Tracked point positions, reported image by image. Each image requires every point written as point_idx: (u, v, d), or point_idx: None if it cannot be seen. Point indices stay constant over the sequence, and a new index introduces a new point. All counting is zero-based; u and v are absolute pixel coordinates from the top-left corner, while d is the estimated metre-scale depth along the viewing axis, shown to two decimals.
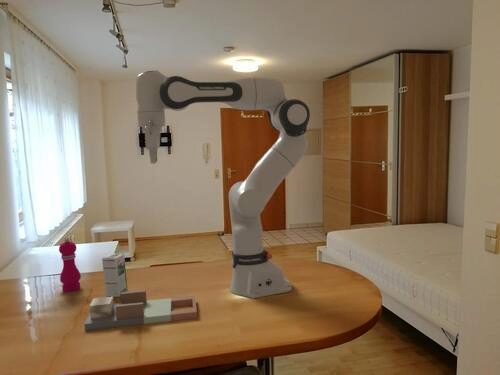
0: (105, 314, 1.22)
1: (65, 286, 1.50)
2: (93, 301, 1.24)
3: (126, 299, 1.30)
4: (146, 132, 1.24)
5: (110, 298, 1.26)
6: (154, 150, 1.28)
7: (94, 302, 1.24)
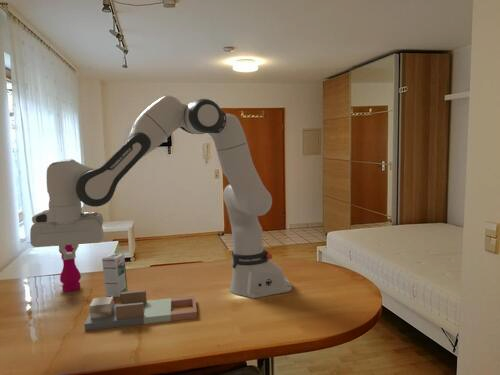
0: (105, 314, 1.22)
1: (65, 286, 1.50)
2: (93, 301, 1.24)
3: (126, 299, 1.30)
4: (99, 224, 1.21)
5: (110, 298, 1.26)
6: (78, 243, 1.22)
7: (94, 302, 1.24)
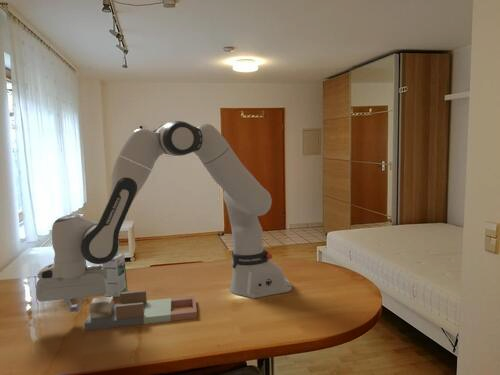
0: (105, 314, 1.22)
1: None
2: (93, 301, 1.24)
3: (126, 299, 1.30)
4: (103, 278, 1.23)
5: (110, 298, 1.26)
6: None
7: (94, 302, 1.24)
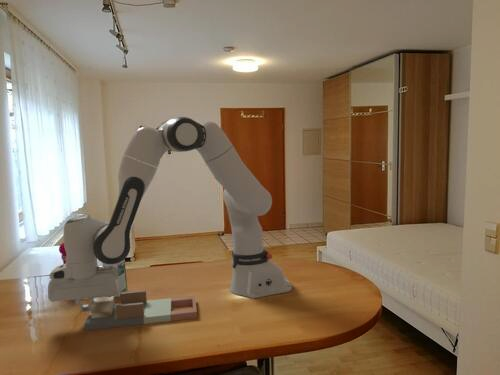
0: (106, 314, 1.22)
1: None
2: (94, 301, 1.24)
3: (126, 299, 1.30)
4: (115, 278, 1.23)
5: (111, 298, 1.26)
6: None
7: (95, 302, 1.24)
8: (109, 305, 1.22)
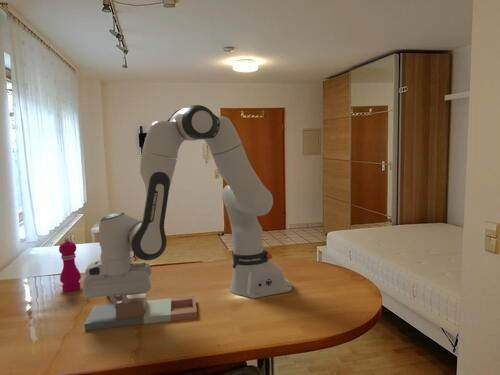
0: None
1: (65, 286, 1.50)
2: (127, 298, 1.26)
3: None
4: (148, 275, 1.25)
5: (143, 295, 1.28)
6: None
7: (128, 298, 1.25)
8: None
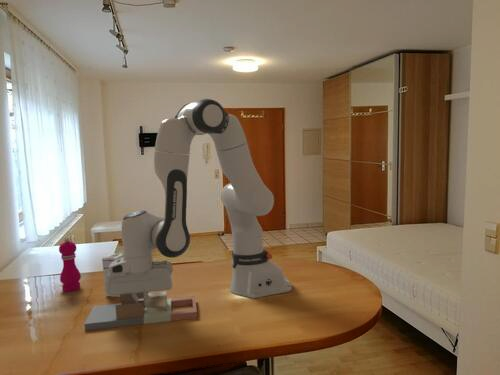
0: (161, 308, 1.25)
1: (65, 286, 1.50)
2: (148, 296, 1.27)
3: (126, 299, 1.30)
4: (169, 272, 1.26)
5: (164, 293, 1.29)
6: None
7: (149, 296, 1.26)
8: (164, 300, 1.25)
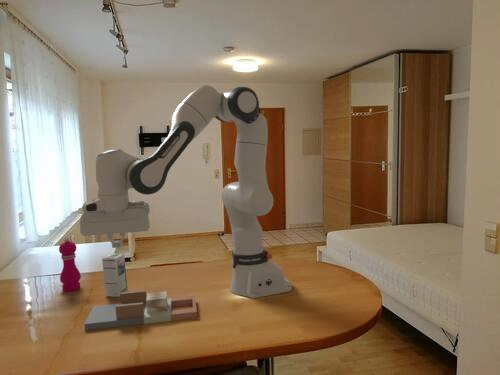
0: (161, 308, 1.25)
1: (65, 286, 1.50)
2: (148, 296, 1.27)
3: (126, 299, 1.30)
4: (146, 213, 1.23)
5: (164, 293, 1.29)
6: None
7: (149, 296, 1.26)
8: (164, 300, 1.25)
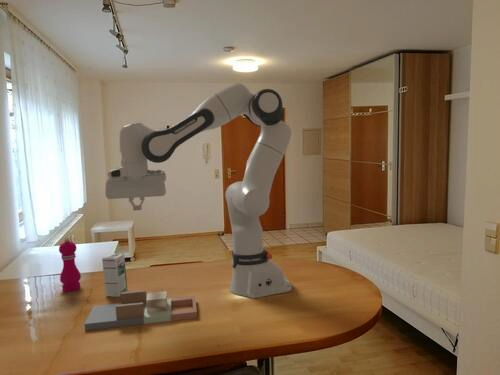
0: (161, 308, 1.25)
1: (65, 286, 1.50)
2: (148, 296, 1.27)
3: (126, 299, 1.30)
4: (163, 180, 1.39)
5: (164, 293, 1.29)
6: None
7: (149, 296, 1.26)
8: (164, 300, 1.25)
